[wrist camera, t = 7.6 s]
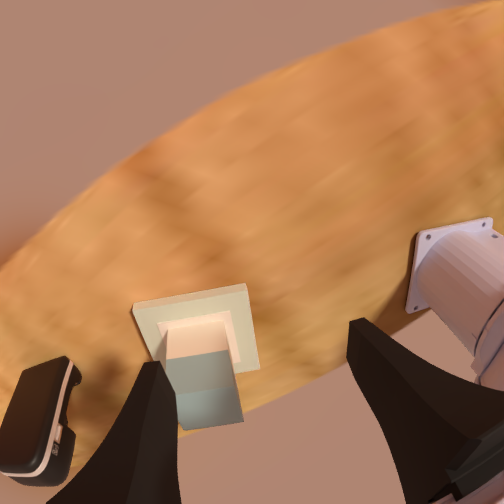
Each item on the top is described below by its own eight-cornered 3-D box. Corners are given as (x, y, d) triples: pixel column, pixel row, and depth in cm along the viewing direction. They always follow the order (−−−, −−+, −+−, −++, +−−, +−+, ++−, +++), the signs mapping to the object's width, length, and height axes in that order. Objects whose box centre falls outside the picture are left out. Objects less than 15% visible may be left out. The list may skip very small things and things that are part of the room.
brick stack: (223, 319, 22) (233, 385, 17) (232, 358, 24) (243, 421, 19) (167, 329, 22) (165, 396, 17) (182, 366, 24) (183, 430, 18)
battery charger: (46, 393, 25) (21, 491, 15) (20, 368, 23) (-14, 468, 13) (94, 379, 25) (75, 493, 15) (67, 351, 23) (34, 469, 13)
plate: (245, 282, 22) (247, 290, 21) (258, 361, 26) (260, 369, 25) (133, 302, 22) (131, 311, 21) (165, 376, 25) (164, 385, 24)
